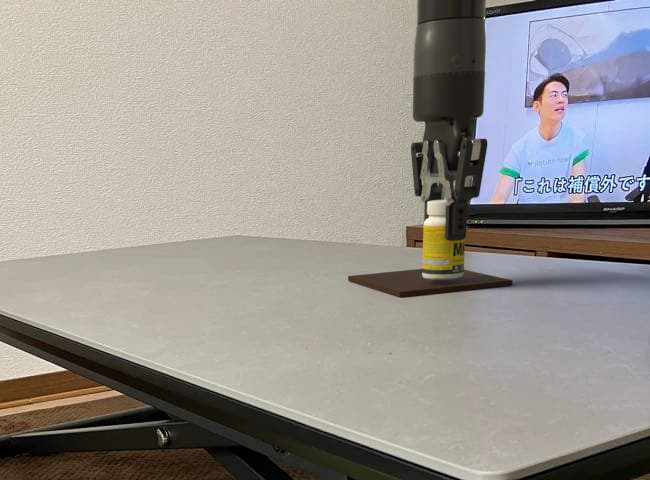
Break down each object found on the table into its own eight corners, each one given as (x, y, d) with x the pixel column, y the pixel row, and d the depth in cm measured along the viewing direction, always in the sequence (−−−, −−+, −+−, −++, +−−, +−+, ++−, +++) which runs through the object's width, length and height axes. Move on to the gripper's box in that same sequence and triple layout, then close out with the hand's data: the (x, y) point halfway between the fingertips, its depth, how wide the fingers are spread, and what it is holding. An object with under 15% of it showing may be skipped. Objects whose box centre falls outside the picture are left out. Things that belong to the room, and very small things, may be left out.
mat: (448, 270, 118) (448, 266, 118) (512, 285, 104) (512, 280, 103) (347, 280, 115) (347, 276, 115) (399, 297, 100) (399, 291, 100)
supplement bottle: (458, 280, 102) (461, 201, 98) (417, 280, 104) (418, 202, 100) (467, 274, 106) (470, 197, 102) (428, 274, 107) (429, 199, 104)
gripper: (516, 63, 90) (506, 240, 97) (450, 75, 103) (445, 231, 110) (447, 66, 89) (442, 246, 96) (389, 78, 102) (388, 236, 108)
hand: (444, 237), depth 103 cm, fingers closed on supplement bottle, 4 cm apart
